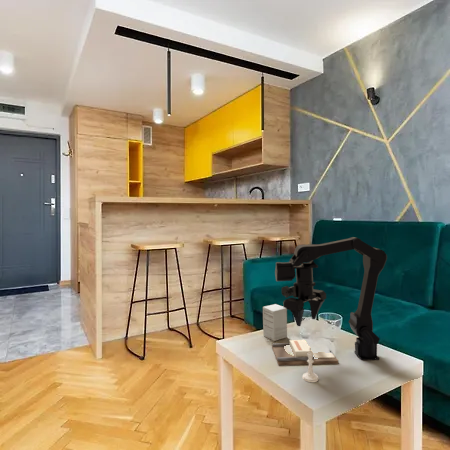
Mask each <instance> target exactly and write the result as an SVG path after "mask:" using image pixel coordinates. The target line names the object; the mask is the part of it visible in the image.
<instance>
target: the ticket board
mask: <svg viewBox="0 0 450 450" xmlns="http://www.w3.org/2000/svg"><path fill="white" fill-rule="evenodd" d="M286 345H290V342H283V343H281V342H280V343H278V342H277V343H275V342H274V343H272V344H271V349H272V351H273V354H274V357H275V360H276V363H277V366H285V365H286V366H288V365H290V366H291V365H292V366H293V365H294V366H295V365H309V363H308V362H307V360H308V359H309V358H308V357H295V356H292V355H290V354H288V353H287V352H286V351H285V349H284V346H286ZM312 353H313V352H312ZM332 353H333V352H332ZM332 353H325V352H318V353H313V354H314V357H315V358H318V359H314V357H313V358H312V360H313V361H314V362H313V363H312V365H326V364H327V365H328V364H329V365H330V364H339V359H338V358H337V356H336V355H335V354H334V353H333V354H332Z"/></svg>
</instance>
